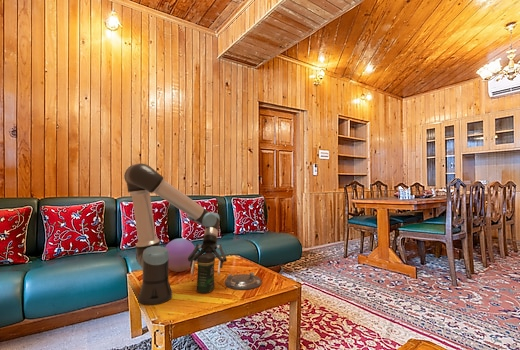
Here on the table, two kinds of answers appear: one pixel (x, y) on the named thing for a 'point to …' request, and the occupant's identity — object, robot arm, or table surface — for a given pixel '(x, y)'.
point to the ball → (179, 254)
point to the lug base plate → (242, 281)
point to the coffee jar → (205, 273)
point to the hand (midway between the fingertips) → (205, 273)
